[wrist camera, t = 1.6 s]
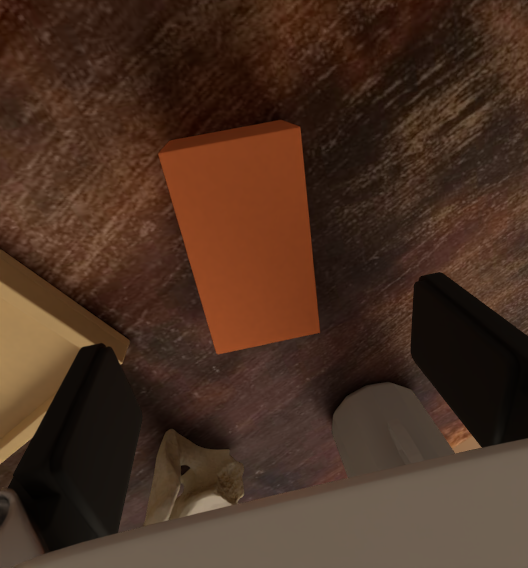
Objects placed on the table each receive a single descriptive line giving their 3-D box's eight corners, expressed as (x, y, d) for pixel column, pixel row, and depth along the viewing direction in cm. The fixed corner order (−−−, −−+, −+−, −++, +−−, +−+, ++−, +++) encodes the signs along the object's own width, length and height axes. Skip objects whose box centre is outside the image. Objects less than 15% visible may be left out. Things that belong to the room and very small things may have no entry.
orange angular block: (168, 140, 17) (157, 152, 13) (281, 119, 17) (300, 126, 13) (215, 312, 21) (216, 355, 18) (302, 294, 22) (320, 333, 18)
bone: (255, 505, 29) (184, 657, 21) (190, 475, 31) (102, 601, 23) (258, 429, 25) (175, 575, 17) (185, 401, 28) (79, 518, 19)
